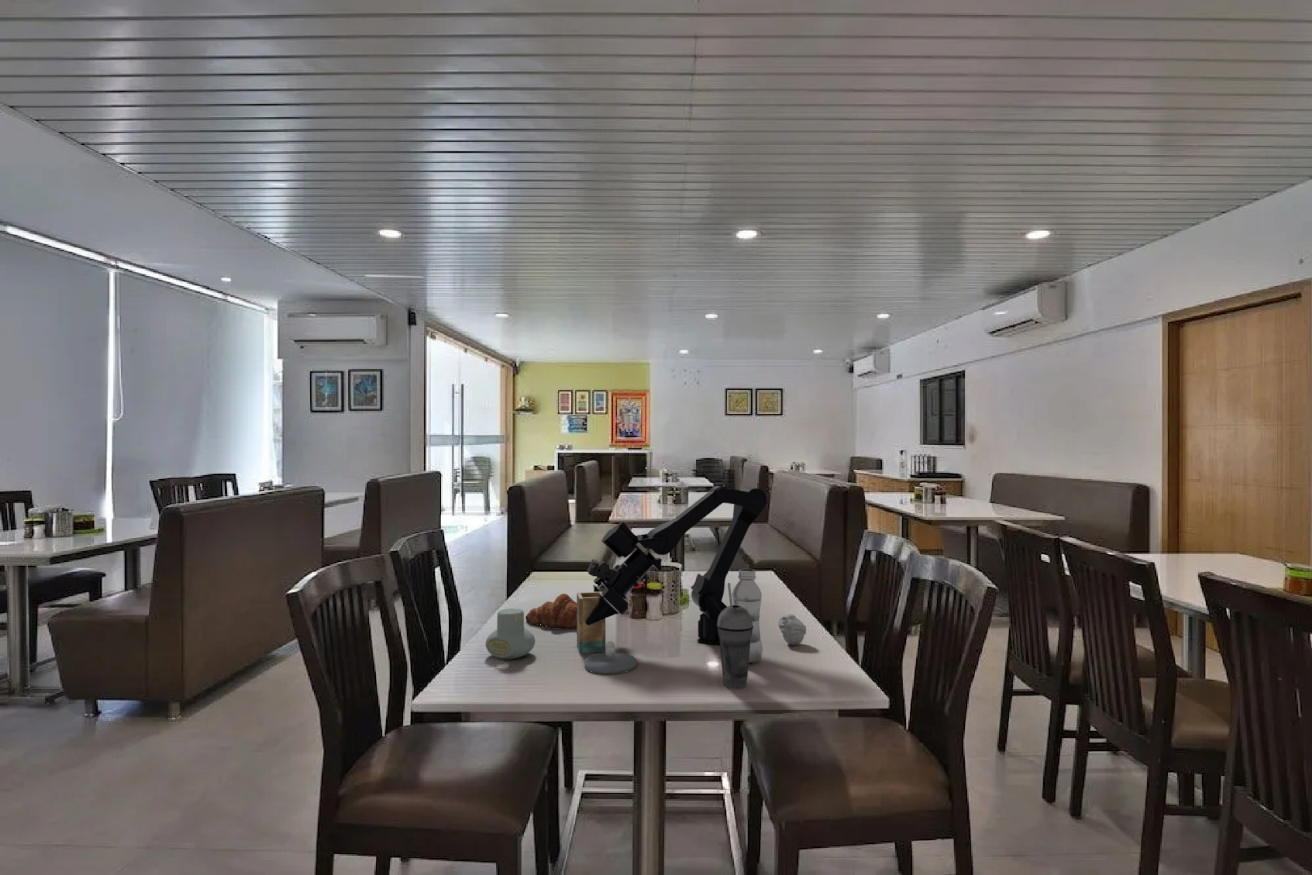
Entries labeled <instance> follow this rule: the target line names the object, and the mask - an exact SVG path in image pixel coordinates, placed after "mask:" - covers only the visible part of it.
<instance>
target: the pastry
mask: <svg viewBox="0 0 1312 875" xmlns="http://www.w3.org/2000/svg"><path fill="white" fill-rule="evenodd" d="M525 621H526V623H527V622H528V623H530V624H531V625H534V624H538V625H537V626H542V625H543V626H542V627H545V626H547V627H546V628H548V627H551V628H550V629H552V628H554V629H553V630H555V628H572V629H577V628H576V627H577V601H575V600H573V599H572V597H571V596H570V595H568V594H567V593H561V594H559V595H558V596H557V597H556V598H555V600H554V601H549V600H548V601H546V602H544V603H543V604H541V605H540V606H538V607H535V608H532V609H530V611H529V612H528V613H527V614H526V616H525ZM540 624H541V625H540Z"/></svg>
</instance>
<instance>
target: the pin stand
mask: <svg viewBox="0 0 1312 875" xmlns="http://www.w3.org/2000/svg"><path fill="white" fill-rule="evenodd" d="M636 667H637V658H636V657H635V656H633V655H632V654H628V653H623V652H616V645H615V642H614V641H611V640H610V641H606V652H598V653H595V654H592V655H589V656H587V657H586V658H585V659H584V669H585V668H586V669H587V671H588V672H590V671H592V672H591V673H593V672H595V673H594V674H597V673H600V674H599V675H620V674H624V673H623V672H625V673H627V672H626V671H628V672H631V671H633V670H634V669H635V668H636ZM586 669H585V670H586ZM619 673H620V674H619Z"/></svg>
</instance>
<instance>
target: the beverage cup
mask: <svg viewBox="0 0 1312 875" xmlns="http://www.w3.org/2000/svg"><path fill="white" fill-rule="evenodd" d="M727 590H728V598H729V605H728V606H727V607H726V608H725V609H724V610H723V611H722V612H721V613H720V615H719V617H718V622H717V628H718V635H719V638H720V645H719V648H720V661H721V672H722V674H721V675H722V678H723V679H722V680H723V686H724V687H725V688H727V689H728V688H729V689H734V690H737V689H738V690H739V689H744V688H746V687H747V683H748V677H749V666H750V665H749V664H750V663H749V654H750V641H751V637H752V631H753V624H752V619H751V616H750V614H749V613H748V611H747V610H746V609H744V608H743V607H741V606H738V605H734V603H733V595H732V588H731V583H730V582H727Z"/></svg>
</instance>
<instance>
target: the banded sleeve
mask: <svg viewBox="0 0 1312 875" xmlns="http://www.w3.org/2000/svg"><path fill="white" fill-rule="evenodd" d="M599 593H600V594H601V595H602V592H594V591H588V592H587V591H586V592H585V591H584V592H576V603H577V628H576V646H577V650H578V652H579V653H578V654H589V653H606V644H607V641H606V639H607V638H606V634H607V633H606V618H605V619H602V620H600V621H598V622H595V623H593V624H591V625H587V624H586V623H585V621H586V620H587V618H588V617H589V615H590V614H591V612H592V611H593V610H594V608H595V607H596V605H597V604H598V601H599ZM602 596H603V595H602Z"/></svg>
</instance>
